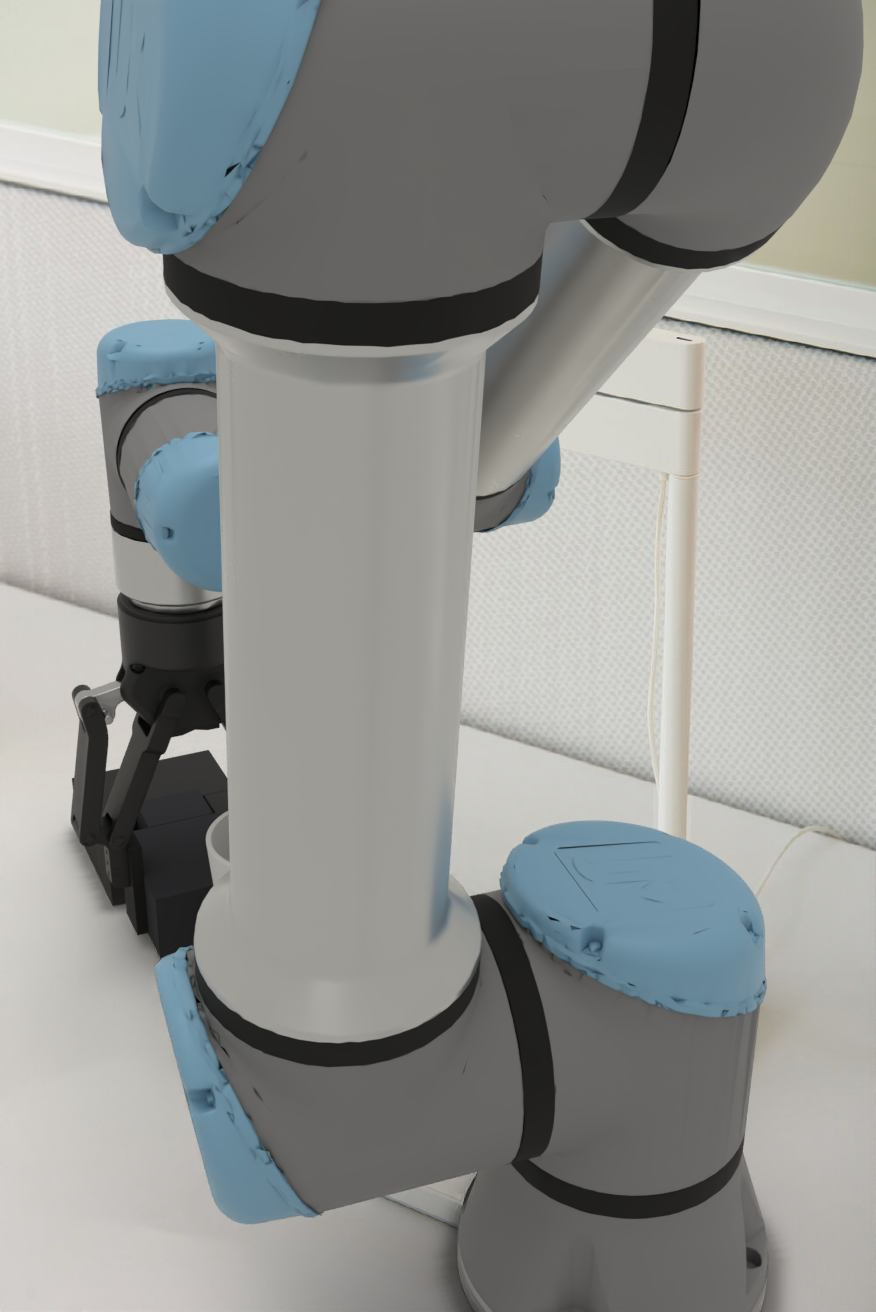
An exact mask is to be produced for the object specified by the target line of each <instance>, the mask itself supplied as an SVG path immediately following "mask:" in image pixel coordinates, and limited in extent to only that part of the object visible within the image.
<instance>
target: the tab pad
mask: <svg viewBox="0 0 876 1312" xmlns="http://www.w3.org/2000/svg"><path fill="white" fill-rule="evenodd" d="M227 811H228V810H227ZM227 811H222V812H218V813H212V811H211V809H210V808H209V806H208V804H207V803H206V801H205V799H204V798H203V796H202V794H201V793H200V791H199V790H198V789H196V790H191V791H187V792H182V793H177V794H173V795H168V796H163V797H159V798H154V799H149V800H145V801H144V802H143V805H142V807H141V810H140V813H139V815H138V818H137V827H138V830H137V831H134V833H135V835H136V837H137V839H138V841H139V843H140V845H141V847H142V857H143V869H144V886H145V898H146V910H147V921H148V933H147V934H148V937H149V939H150V942H151V943H152V945H153V947H154V949H155V951H156V953H157V956H158V957H159V959H162V958H163V957H165V956H168V955H170V954H173V953H175V952H177V950H178V949H179V948H182V947H188V946H194V933H195V925H196V919H197V914H198V911H199V909H200V907H201V904H202V902H203V900H204V899H205V897H206V896H207V894H208V892H209V891H210V889H211V888H212V887H213V880H212V874H211V869H210V863H209V857H208V851H207V846H206V834H207V831H208V829H209V827H210V826H211V824H212V823H213V822H214V821H215V820H216V819H217V818H218V817H219V816H221V815H222V814H223V813H225V812H227Z"/></svg>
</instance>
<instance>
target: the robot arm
mask: <svg viewBox="0 0 876 1312" xmlns="http://www.w3.org/2000/svg"><path fill="white" fill-rule="evenodd" d="M862 2H863V1H862V0H100V7H99V21H98V22H99V23H98V24H99V26H98V43H97V44H98V45H97V49H98V50H97V97H98V110H99V112H100V114H101V115H102V116H101V117H102V118H101V120H102V121H101V133H100V135H101V136H100V137H101V138H100V139H101V140H100V141H101V143H100V144H101V147H100V148H101V149H100V150H101V157H100V159H101V165H102V166H101V168H102V175H103V182H104V187H105V193H106V199H107V204H108V207H109V211H110V214H111V217H112V219H113V222H114V224H115V227H116V229H117V231H118V232H119V234H120V235H121V237H123V239H124V240H125V241H127V242H128V243H130V244H131V245H133V246H135V247H139V248H144V249H146V250H148V251H149V252H151V253H153V254H154V255H156V254H157V255H162V278H163V285H164V289H165V293H166V294H165V295H167V297H168V299H169V300H170V302H171V303H172V304H173V305H174V306H175V307H176V309H177V310H179V312H180V313H181V314H182V315H184V316H185V317H186V318H187V319H181V318H166V319H164V318H163V319H151V320H139V321H135V322H131V323H126V324H123V325H121V326H120V325H119V326H117V327H115V328H113V329H111V330H110V331H108V332H107V333H105V334H104V335H103V336H102V338H101V339H100V340H99V342H98V345H97V347H96V371H97V373H96V374H97V387H96V388H95V390H94V391H95V398H96V399H98V404H99V413H100V422H101V432H102V433H101V434H102V441H103V451H104V460H105V461H104V462H105V471H106V479H107V481H106V482H107V489H108V491H107V492H108V499H109V508H110V509H109V519H110V528H111V540H112V541H111V543H112V555H113V568H114V569H113V570H114V581H115V585H116V588H117V590H118V591H119V593H118V595H117V597H116V598H117V599H116V606H117V617H118V627H119V629H118V630H119V641H120V651H121V662H120V663H121V664H120V667H119V669H118V672H117V674H116V676H115V680H114V681H112V682H111V681H110V682H108V683H105V684H103V685H100V686H97V687H95V688H94V687H93V688H92V689H91V687H90V686H88V685H87V684H78V685H76V686H75V687H74V688H73V689H72V692H71V698H72V701H73V705H74V708H75V710H76V711H75V712H76V715H77V717H78V732H77V742H76V754H75V765H74V766H75V767H74V775H73V776H74V777H73V778H74V786H73V785H72V799H71V808H70V809H71V811H70V824H71V826H72V828H73V832H75V835H76V837H77V839H78V841H79V843H80V845H81V846H82V847H84V848H85V847H91V846H94V845H95V844H101V845H104V852H105V862H106V872H107V874H108V876H109V879H110V881H111V883H112V885H113V886H114V888H115V889H116V890H117V889H121V888H124V891H125V902H126V903H125V912H126V915H127V918H128V919H129V921H130V923H131V924H132V927H133V929H134V931H135V934H136V936H142V935H146V934H148V921H147V910H146V898H145V886H144V869H143V857H142V847H141V845H140V843H139V841H138V839H137V837H136V835H135V833H134V831H133V829H134V826H135V823H136V821H137V818H138V815H139V813H140V810H141V807H142V805H143V802H144V799H145V797H146V794H147V791H148V789H149V786H150V783H151V780H152V778H153V775H154V772H155V770H156V767H157V764H158V762H159V760H161V756H162V755H165V754H166V753H167V750H168V747H169V744H170V743H171V739H172V738H176V737H181V736H184V735H187V734H189V733H191V732H193V731H210V730H215V729H220V727H221V726H222V727H223V729H224V731H225V738H226V740H225V743H226V773H227V774H226V777H227V780H228V816H229V851H230V870H229V871H228V872H227V873H226V874H225V875H223V876H222V877H221V878H220V879H219V880H218V882H217V883H216V884H215V885H214V886H213V887H212V888H211V889H210V891H209V892H208V894H207V896H206V897H205V899H204V900H203V902H202V904H201V907H200V909H199V911H198V914H197V919H196V925H195V933H194V946H188V947H182V948H179V949H178V950H177V952H175V953H173V954H170V955H168V956H165V957H163V958H160V960H159V961H158V962H157V963H156V965H155V967H154V978H155V984H156V988H157V992H158V996H159V1000H160V1004H161V1008H162V1012H163V1016H164V1020H165V1023H166V1028H167V1032H168V1035H169V1039H170V1044H171V1047H172V1051H173V1055H174V1058H175V1062H176V1066H177V1069H178V1074H179V1078H180V1081H181V1086H182V1089H183V1093H184V1097H185V1101H186V1105H187V1107H188V1113H189V1116H190V1119H191V1123H192V1127H193V1131H194V1135H195V1138H196V1142H197V1147H198V1150H199V1153H200V1157H201V1161H202V1164H203V1168H204V1173H205V1175H206V1180H207V1182H208V1183H207V1184H208V1186H209V1190H210V1193H211V1197H212V1200H213V1201H214V1204H215V1205H216V1207H217V1209H218V1210H219V1211H220V1212H221V1213H222V1214H223V1215H224V1216H225V1217H226V1218H228V1219H230V1220H231V1221H233V1222H235V1223H237V1224H242V1225H257V1224H258V1225H259V1224H263V1223H268V1222H274V1221H278V1220H279V1221H280V1220H285V1219H291V1218H296V1217H301V1216H302V1217H304V1218H310V1219H314V1218H316V1217H318V1216H323V1214H324V1213H325V1212H328V1211H332V1210H336V1209H339V1208H344V1207H348V1206H351V1205H355V1204H359V1203H363V1202H367V1201H371V1200H374V1199H378V1198H382V1197H387V1196H390V1195H393V1194H397V1193H401V1192H405V1191H409V1190H413V1189H417V1188H421V1187H424V1186H429V1185H433V1184H437V1183H440V1182H444V1181H447V1180H452V1179H456V1178H460V1177H463V1176H467V1175H471V1176H470V1178H469V1181H468V1182H467V1184H466V1187H465V1189H464V1191H463V1193H462V1195H461V1197H460V1199H459V1201H458V1203H457V1205H456V1207H455V1209H454V1212H453V1213H455V1212H456V1210H457V1208H459V1205H460V1203H461V1202H462V1200H463V1202H462V1206H461V1209H460V1215H459V1219H458V1224H457V1257H456V1258H457V1260H456V1261H457V1269H458V1274H459V1275H458V1276H459V1279H460V1284H461V1286H462V1289H463V1292H464V1294H465V1297H466V1299H467V1301H468V1303H469V1305H470V1306H471V1309H472V1310H473V1312H761V1311H762V1307H763V1305H764V1301H765V1297H766V1296H765V1295H766V1290H767V1283H768V1282H767V1281H768V1276H769V1263H770V1262H769V1261H770V1256H769V1245H768V1244H769V1243H768V1236H767V1229H766V1225H765V1221H764V1218H763V1214H762V1210H761V1207H760V1204H759V1201H758V1198H757V1194H756V1190H755V1187H754V1184H753V1181H752V1178H751V1174H750V1171H749V1167H748V1164H747V1161H746V1157H745V1155H744V1145H745V1138H746V1129H747V1121H748V1111H749V1102H750V1096H751V1086H752V1078H753V1069H754V1063H755V1062H754V1060H755V1054H756V1053H755V1052H756V1044H757V1036H758V1027H759V1020H760V1019H759V1018H760V1010H761V1005H762V1003H763V1002H764V999H765V996H766V993H767V989H768V983H767V982H768V981H767V976H766V924H765V918H764V915H763V911H762V907H761V905H760V903H759V901H758V899H757V897H756V896H755V894H754V892H753V890H752V889H751V887H750V886H749V885H748V883H747V882H746V881H745V880H744V879H743V878H742V877H741V876H740V875H739V873H737V872H736V870H734V869H733V868H732V867H731V866H729V864H727V863H726V862H725V861H723V860H722V859H720V858H719V857H718V856H716V855H715V854H713V853H712V852H710V851H708V850H707V849H705V848H703V847H701V846H700V845H698V844H695V843H694V842H692V841H688V840H687V839H684V838H681V837H678V836H675V835H671V834H669V833H667V832H665V831H662V830H660V829H657V828H652V827H648V826H645V825H641V824H635V823H629V822H623V821H614V820H598V819H597V820H595V819H593V820H591V819H590V820H574V821H573V820H572V821H566V822H559V823H555V824H551V825H548V826H545V827H542V828H540V829H538V830H536V831H534V832H531V833H530V834H528V835H526V836H525V837H524V838H523V839H522V842H521V843H518V844H517V845H515V846H514V847H513V848H512V849H511V850H510V852H509V854H508V856H507V858H506V861H505V863H504V865H503V866H502V870H501V872H499V875H500V878H499V888H500V889H496V890H492V891H487V892H482V893H477V894H473V895H469V893H468V891H467V890H466V889H465V887H464V886H463V885H462V884H461V883H460V882H459V881H458V880H457V878H456V877H455V876H454V875H452V874H451V873H450V869H451V868H450V867H451V855H452V841H453V828H454V827H453V826H454V825H453V824H454V814H455V813H454V811H455V797H456V785H457V784H456V783H457V772H458V771H457V768H458V754H459V741H460V727H461V712H462V700H463V699H462V697H463V686H464V685H463V684H464V671H465V657H466V656H465V654H466V645H467V644H466V643H467V642H466V641H467V628H468V616H469V614H468V613H469V599H470V586H471V585H470V584H471V573H472V572H471V571H472V558H473V543H474V533H479V534H480V533H481V534H485V533H487V534H488V533H492V532H495V531H497V530H499V529H502V528H504V527H509V526H515V525H519V524H526V523H531V522H535V521H537V520H538V519H541V518H542V517H543V516H544V515H546V513H548V511H549V510H550V509H551V507H552V506H553V504H554V501H555V498H556V487H558V485H559V484H560V477H561V471H562V470H561V469H562V468H561V467H562V459H561V446H560V439H559V436H560V435H561V433H563V432H564V430H565V429H566V428H567V427H568V426H569V424H570V423H571V422H572V421H573V420H574V419H575V418H576V416H577V415H578V414H579V413H580V412H581V411H582V410H583V408H584V407H585V406H586V405H587V404H588V403H589V402H590V401H591V400H592V398H594V396H595V395H596V394H597V393H598V391H600V389H601V388H602V387H603V386H604V385H605V383H606V382H607V381H608V380H609V379H611V377H612V375H614V373H615V372H616V371H617V370H618V368H620V366H621V365H622V364H623V363H624V362H625V361H626V360H627V359H628V357H629V356H630V355H631V354H632V353H633V352H634V350H635V349H636V348H637V347H638V346H639V345H640V344H641V343H642V341H643V340H644V339H645V338H646V337H647V336H648V334H650V332H651V331H652V330H653V329H654V328H655V327H656V326H657V324H658V323H659V322H660V321H661V320H662V318H663V317H664V316H666V314H667V313H668V312H669V311H670V309H671V308H673V306H675V304H676V303H677V302H678V301H679V299H680V298H681V297H682V296H683V295H684V293H685V292H686V291H687V290H688V289H689V288H690V287H691V286H692V285H693V284H694V282H695V281H696V280H697V279H698V278H699V277H700V275H701V274H702V273H710V272H713V271H717V270H718V271H719V270H722V269H727V268H729V267H732V266H734V265H736V264H738V263H741V262H742V261H744V260H746V259H747V258H749V257H751V256H753V255H754V254H755V253H757V252H758V251H759V250H760V249H761V248H762V247H764V246H765V245H766V244H767V243H768V242H769V241H770V240H771V239H772V238H773V237H774V236H775V234H776V233H777V232H778V231H779V230H780V229H781V228H782V227H783V226H784V224H785V223H786V222H787V221H788V220H790V218H792V216H794V214H795V213H796V212H797V210H799V208H800V206H802V204H804V201H805V200H806V199H807V198H808V197H809V195H810V194H811V193H812V192H813V190H814V189H815V188H816V186H817V185H818V184H819V183H820V181H821V180H822V179H823V176H825V173H826V171H827V170H828V168H829V167H830V165H831V163H832V161H833V159H834V158H835V157H834V156H835V155H836V153H837V151H838V150H839V149H838V148H839V146H840V145H841V143H842V140H843V138H844V136H845V133H846V131H847V129H848V126H849V124H850V122H851V120H852V118H853V113H854V108H855V103H856V99H857V95H858V90H859V86H860V81H861V77H862V72H863V60H864V45H865V44H864V43H865V42H864V41H865V40H864V10H863V3H862ZM122 702H124V703H126V704H127V705H128V706H129V707H130V708H131V709H132V710H134V712H135V716H134V718H133V721H132V725H131V736H130V739H129V741H128V744H127V747H126V749H125V752H124V756H123V758H122V761H121V763H120V766H119V768H120V769H119V768H118V769H119V771H118V774H117V777H116V780H115V782H114V785H113V788H112V790H111V793H110V796H109V799H108V801H107V804H106V807H105V810H104V812H103V815H102V816H101V814H102V804H103V794H104V784H105V773H106V771H107V762H108V753H109V752H108V751H109V730H108V726H109V725H111V724H112V723H113V722H114V719H115V718H116V712H117V711H116V710H117V708H118V706H119V705H120V704H121V703H122ZM220 725H221V726H220Z"/></svg>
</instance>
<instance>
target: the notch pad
mask: <svg viewBox="0 0 876 1312" xmlns="http://www.w3.org/2000/svg"><path fill="white" fill-rule="evenodd" d="M119 769H120V767H119V768H114V769H109V770H106V773H105V784H104V794H103V804H102V814H101V816H102V815H103V812H104V810H105V807H106V804H107V801H108V799H109V796H110V793H111V790H112V788H113V785H114V782H115V780H116V777H117V774H118V771H119ZM71 784H72V787H73V786H74V777H72V778H71ZM196 789H198V790H199V791H200V793H201V794H202V796H203V798H204V799H205V801H206V803H207V804H208V806H209V808H210V809H211V811H212V813H218V812H222V811H227V810H228V780H227V774H225V772H224V771H223V769H222V768H221V767H220V764H219V763H218V762H217V760H216V759H215V757H214V756H213V754H212V753H211V751H210V749H206V750H201V751H196V752H191V753H187V754H182V755H177V756H171V757H167V758H162V759H159V762H158V764H157V767H156V770H155V772H154V775H153V778H152V780H151V783H150V786H149V789H148V791H147V794H146V797H145V799H144V801H145V800H149V799H154V798H159V797H163V796H168V795H173V794H177V793H182V792H187V791H191V790H196ZM137 830H138V827H137V821H136V823H135V826H134V829H133V831H137ZM84 848H85V851H86V853H87V855H88V857H89V859H90V861H91V863H92V865H93V869H94V870H95V872H96V874H97V876H98V878H99V880H100V882H101V884H102V887H103V889H104V891H105V893H106V895H107V897H108V899H109V901H110V904H111V906H112V907H115V906H119V905H123V904H126V902H125V891H124V888H121V889H117V890H116V889H115V888H114V886H113V885H112V883H111V881H110V879H109V876H108V874H107V872H106V862H105V852H104V845H101V844H95V845H94V846H91V847H84Z"/></svg>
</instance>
